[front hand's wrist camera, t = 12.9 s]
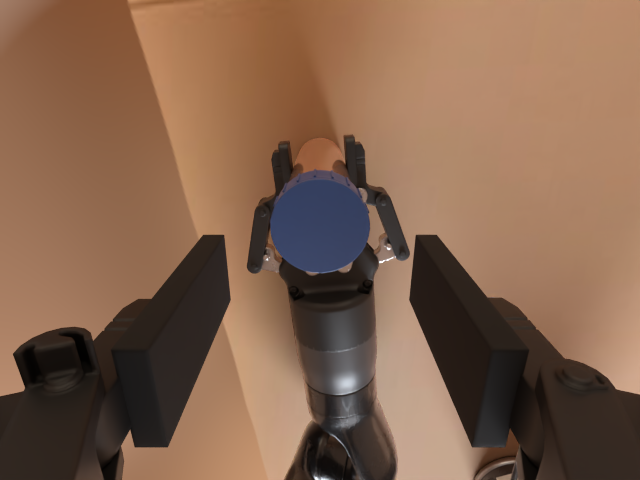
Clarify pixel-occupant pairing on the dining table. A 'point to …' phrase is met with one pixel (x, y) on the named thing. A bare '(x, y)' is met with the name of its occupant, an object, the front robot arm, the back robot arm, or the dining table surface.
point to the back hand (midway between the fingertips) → (316, 140)
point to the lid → (320, 221)
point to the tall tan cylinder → (319, 158)
